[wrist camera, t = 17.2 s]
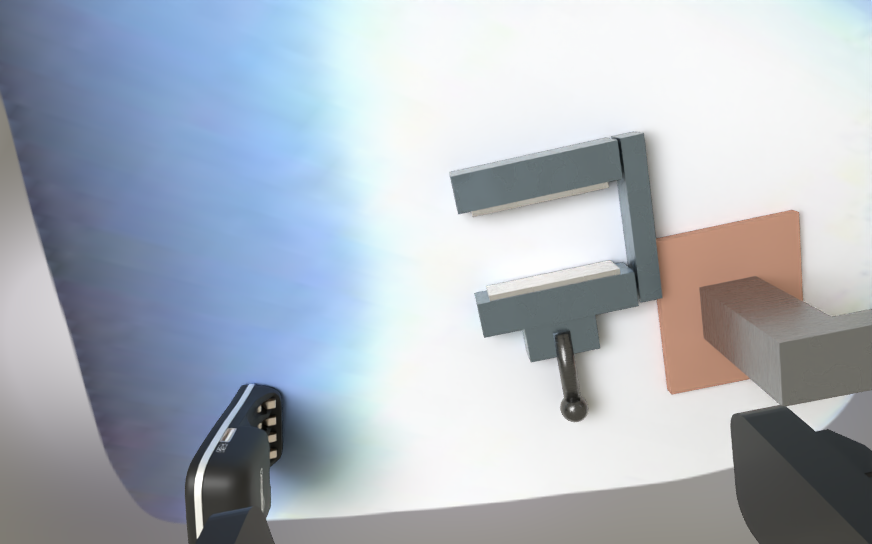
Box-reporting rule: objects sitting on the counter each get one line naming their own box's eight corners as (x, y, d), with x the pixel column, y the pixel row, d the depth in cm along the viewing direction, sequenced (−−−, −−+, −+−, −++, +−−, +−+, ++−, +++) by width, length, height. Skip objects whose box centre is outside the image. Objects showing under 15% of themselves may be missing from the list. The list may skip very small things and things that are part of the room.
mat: (649, 239, 42) (654, 242, 41) (792, 209, 41) (798, 211, 40) (667, 389, 45) (671, 394, 44) (799, 363, 45) (805, 367, 44)
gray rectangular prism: (699, 287, 42) (779, 343, 32) (795, 268, 42) (905, 318, 32) (703, 338, 43) (782, 406, 33) (797, 319, 43) (904, 383, 33)
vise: (449, 172, 40) (450, 177, 37) (633, 131, 40) (649, 134, 37) (501, 420, 46) (506, 441, 43) (663, 387, 45) (680, 407, 42)
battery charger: (293, 461, 47) (251, 573, 36) (244, 459, 46) (187, 571, 35) (292, 381, 45) (247, 473, 34) (241, 379, 44) (180, 470, 33)
